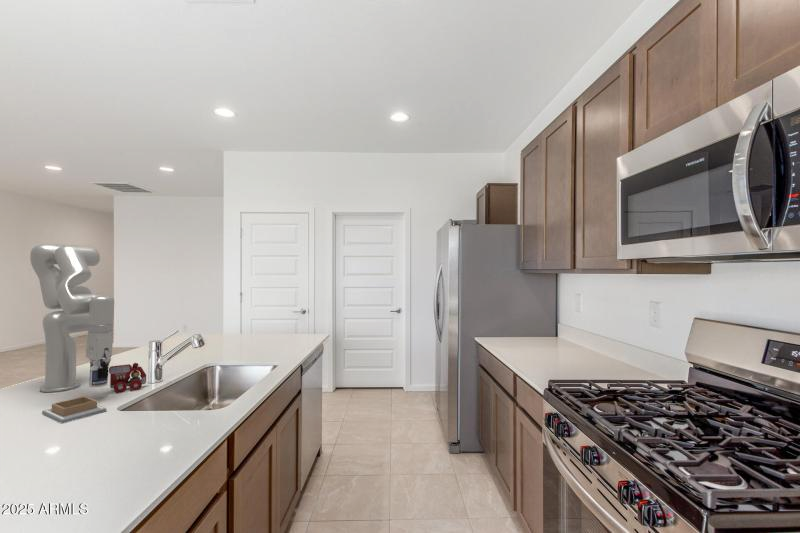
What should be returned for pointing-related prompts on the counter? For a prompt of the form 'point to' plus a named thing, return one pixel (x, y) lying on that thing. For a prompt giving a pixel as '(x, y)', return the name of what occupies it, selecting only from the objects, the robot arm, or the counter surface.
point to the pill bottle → (93, 376)
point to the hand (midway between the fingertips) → (98, 376)
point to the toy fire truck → (126, 377)
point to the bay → (73, 409)
